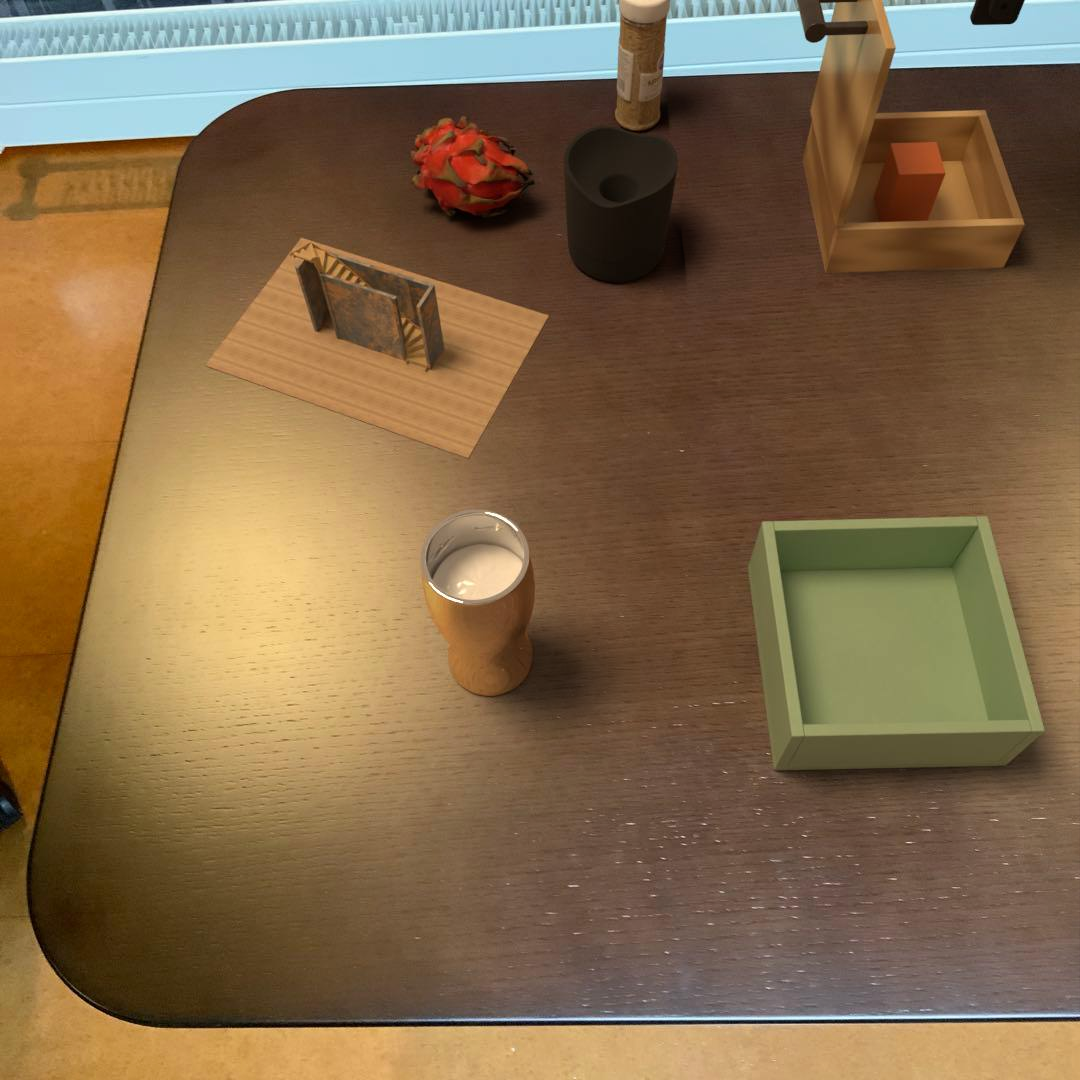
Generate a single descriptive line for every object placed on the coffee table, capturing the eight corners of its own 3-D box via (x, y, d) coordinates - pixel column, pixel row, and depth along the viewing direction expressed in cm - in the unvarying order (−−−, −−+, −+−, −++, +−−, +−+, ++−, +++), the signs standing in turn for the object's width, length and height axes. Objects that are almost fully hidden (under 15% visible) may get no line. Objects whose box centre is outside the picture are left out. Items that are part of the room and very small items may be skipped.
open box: (956, 563, 78) (987, 515, 72) (1005, 765, 71) (1045, 731, 65) (747, 567, 79) (761, 520, 73) (773, 770, 71) (791, 736, 65)
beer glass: (427, 684, 74) (397, 586, 62) (464, 601, 78) (443, 492, 65) (518, 715, 73) (508, 622, 60) (552, 630, 76) (549, 524, 63)
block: (916, 195, 97) (936, 141, 92) (925, 226, 95) (946, 173, 90) (873, 196, 97) (890, 142, 92) (881, 227, 95) (899, 174, 90)
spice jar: (659, 133, 103) (671, 4, 91) (613, 132, 103) (618, 3, 92) (660, 103, 105) (671, -27, 94) (614, 102, 106) (620, -28, 94)
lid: (861, -72, 81) (792, -70, 81) (896, 47, 73) (820, 50, 73) (817, 110, 95) (759, 112, 95) (843, 225, 88) (779, 227, 88)
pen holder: (631, 199, 99) (637, 108, 90) (688, 261, 94) (700, 172, 86) (545, 237, 96) (542, 148, 88) (599, 303, 92) (602, 215, 84)
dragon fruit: (412, 192, 102) (527, 233, 101) (383, 201, 94) (507, 245, 94) (434, 101, 98) (554, 143, 98) (405, 103, 91) (534, 149, 90)
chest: (964, 161, 100) (985, 109, 95) (1000, 274, 93) (1025, 224, 88) (800, 166, 100) (813, 114, 95) (823, 279, 93) (838, 229, 88)
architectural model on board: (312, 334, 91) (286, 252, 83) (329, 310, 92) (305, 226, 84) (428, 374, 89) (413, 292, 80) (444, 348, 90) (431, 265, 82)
